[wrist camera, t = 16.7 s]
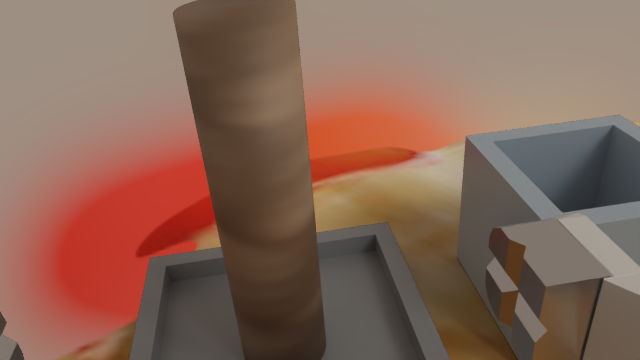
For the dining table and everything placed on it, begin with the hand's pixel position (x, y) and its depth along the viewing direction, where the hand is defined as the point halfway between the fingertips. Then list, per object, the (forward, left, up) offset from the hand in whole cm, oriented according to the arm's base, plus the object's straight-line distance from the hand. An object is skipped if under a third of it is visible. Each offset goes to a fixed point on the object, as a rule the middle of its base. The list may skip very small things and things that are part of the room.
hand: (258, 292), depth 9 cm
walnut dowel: (0, -11, -14) cm, 18 cm away
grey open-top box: (-15, -12, -14) cm, 24 cm away
